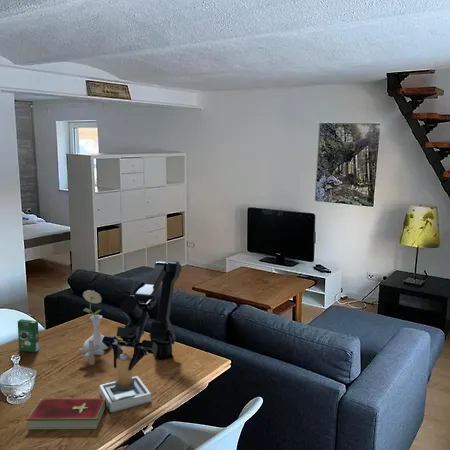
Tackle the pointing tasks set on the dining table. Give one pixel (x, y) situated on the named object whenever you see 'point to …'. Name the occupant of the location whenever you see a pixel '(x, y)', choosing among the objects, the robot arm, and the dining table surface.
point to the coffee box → (28, 335)
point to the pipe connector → (91, 351)
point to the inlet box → (125, 395)
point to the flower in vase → (94, 320)
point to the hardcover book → (67, 414)
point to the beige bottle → (124, 374)
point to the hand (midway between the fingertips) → (122, 368)
